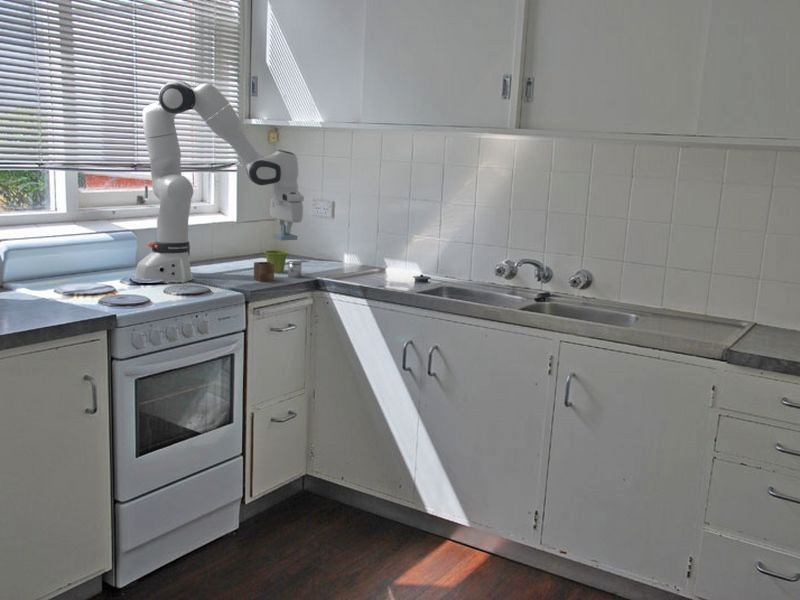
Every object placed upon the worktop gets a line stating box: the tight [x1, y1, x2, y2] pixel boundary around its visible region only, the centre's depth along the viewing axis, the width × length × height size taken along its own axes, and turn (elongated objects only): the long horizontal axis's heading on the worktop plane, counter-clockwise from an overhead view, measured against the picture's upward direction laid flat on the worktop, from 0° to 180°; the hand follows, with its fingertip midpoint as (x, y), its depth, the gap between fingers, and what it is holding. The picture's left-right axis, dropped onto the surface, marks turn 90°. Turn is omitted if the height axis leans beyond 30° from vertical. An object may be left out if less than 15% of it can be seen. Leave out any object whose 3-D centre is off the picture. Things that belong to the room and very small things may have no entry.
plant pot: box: [263, 249, 289, 274], centre depth 337 cm, size 9×9×9 cm
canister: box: [253, 261, 275, 283], centre depth 317 cm, size 6×6×7 cm
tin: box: [287, 260, 303, 279], centre depth 328 cm, size 5×5×6 cm
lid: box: [273, 224, 298, 241], centre depth 316 cm, size 7×7×5 cm
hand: (285, 232), depth 316 cm, fingers closed on lid, 2 cm apart
